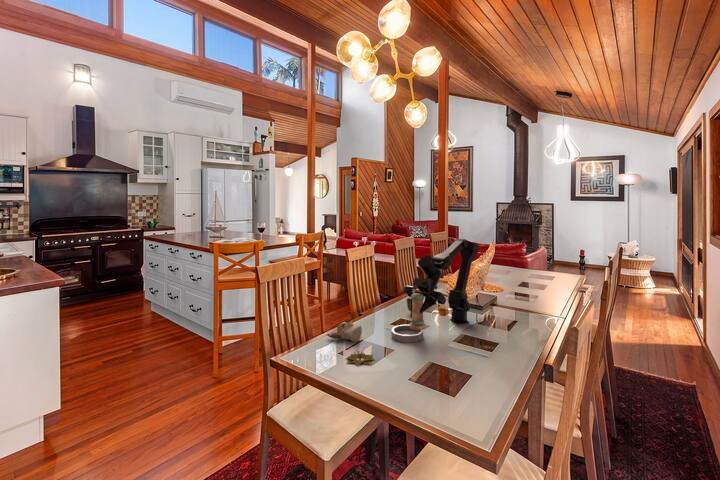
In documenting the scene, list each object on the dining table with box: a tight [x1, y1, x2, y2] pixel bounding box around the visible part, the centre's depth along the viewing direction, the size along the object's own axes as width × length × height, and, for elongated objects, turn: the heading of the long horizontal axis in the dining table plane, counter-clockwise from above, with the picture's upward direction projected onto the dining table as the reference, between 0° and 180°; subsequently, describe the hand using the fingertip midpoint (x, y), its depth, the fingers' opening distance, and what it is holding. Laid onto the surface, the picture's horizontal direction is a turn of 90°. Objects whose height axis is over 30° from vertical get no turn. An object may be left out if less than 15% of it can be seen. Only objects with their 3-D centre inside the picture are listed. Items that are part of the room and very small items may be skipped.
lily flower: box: [345, 347, 375, 367], centre depth 144 cm, size 12×12×5 cm
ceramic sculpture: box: [326, 319, 363, 343], centre depth 164 cm, size 11×9×15 cm
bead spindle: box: [409, 293, 426, 330], centre depth 160 cm, size 6×6×14 cm
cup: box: [406, 297, 412, 316], centre depth 196 cm, size 8×7×8 cm
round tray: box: [390, 324, 424, 344], centre depth 166 cm, size 14×14×3 cm
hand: (415, 311), depth 159 cm, fingers closed on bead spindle, 4 cm apart
